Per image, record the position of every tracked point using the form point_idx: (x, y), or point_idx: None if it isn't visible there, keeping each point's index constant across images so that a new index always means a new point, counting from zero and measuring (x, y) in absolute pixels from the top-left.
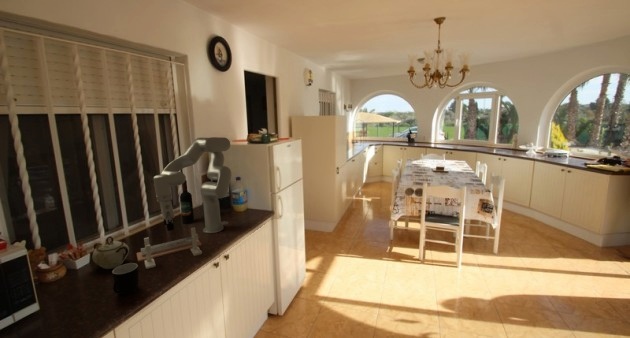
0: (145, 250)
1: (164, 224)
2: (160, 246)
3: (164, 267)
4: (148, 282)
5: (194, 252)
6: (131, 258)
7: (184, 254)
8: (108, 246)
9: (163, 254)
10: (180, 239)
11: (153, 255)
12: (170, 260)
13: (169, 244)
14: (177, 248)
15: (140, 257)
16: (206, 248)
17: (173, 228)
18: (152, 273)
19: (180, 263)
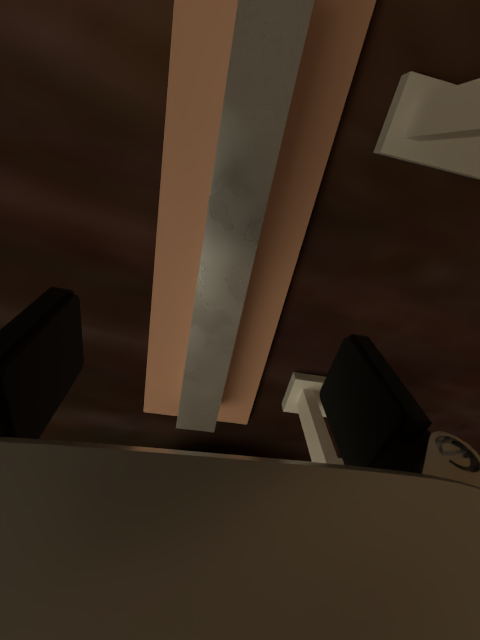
0: (312, 458)
1: (74, 376)
2: (233, 343)
3: (424, 360)
4: (474, 432)
5: (471, 162)
6: (180, 428)
7: (387, 221)
8: None
9: (276, 321)
10: (221, 175)
11: (252, 366)
12: (380, 315)
13: (246, 287)
14: (271, 226)
15: (221, 411)
16: (475, 3)
17: (370, 349)
18: (422, 407)
19: (472, 291)
